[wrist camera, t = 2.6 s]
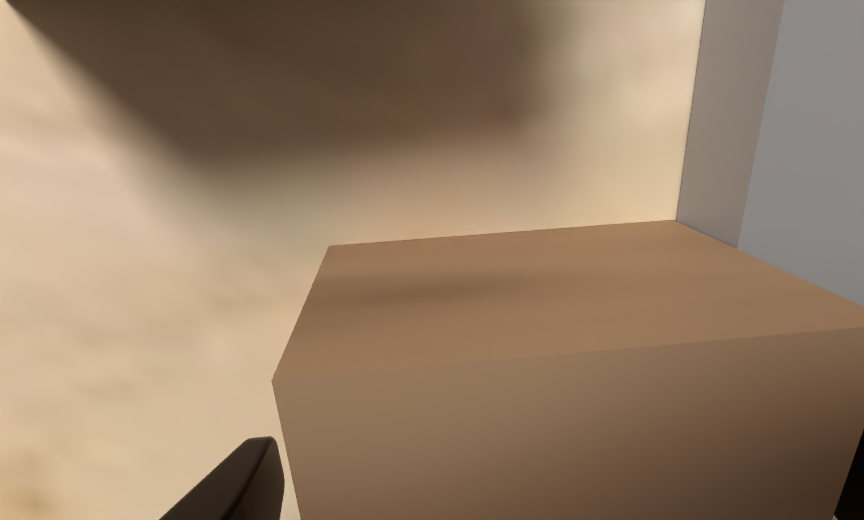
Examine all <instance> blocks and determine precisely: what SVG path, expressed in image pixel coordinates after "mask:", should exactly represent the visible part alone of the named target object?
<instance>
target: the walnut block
mask: <svg viewBox="0 0 864 520" xmlns="http://www.w3.org/2000/svg"><path fill="white" fill-rule="evenodd" d="M272 385H273V390H274V394H275V399H276V404H277V408H278V413H279V418H280V423H281V427H282V432H283V437H284V441H285V446H286V451H287V456H288V460H289V465H290V470H291V474H292V479H293V484H294V489H295V493H296V498H297V503H298V507H299V512H300V517H301V520H832V518H833V515H834V512H835V509H836V506H837V504H838V501H839V498H840V495H841V492H842V489H843V487H844V484H845V481H846V478H847V475H848V472H849V469H850V467H851V464H852V461H853V458H854V455H855V452H856V449H857V447H858V444H859V441H860V438H861V435H862V432H863V429H864V307H863V306H861V305H859V304H857V303H855V302H852V301H850V300H848V299H846V298H844V297H841V296H839V295H837V294H835V293H833V292H830V291H828V290H826V289H824V288H822V287H819V286H817V285H815V284H813V283H811V282H808V281H806V280H804V279H802V278H800V277H797V276H795V275H793V274H791V273H789V272H786V271H784V270H782V269H780V268H778V267H775V266H773V265H771V264H769V263H767V262H764V261H762V260H760V259H758V258H756V257H753V256H751V255H749V254H747V253H745V252H742V251H740V250H738V249H736V248H734V247H731V246H729V245H727V244H725V243H723V242H720V241H718V240H716V239H714V238H712V237H709V236H707V235H705V234H703V233H701V232H698V231H696V230H694V229H692V228H690V227H687V226H685V225H683V224H681V223H679V222H676V221H674V220H664V221H651V222H637V223H624V224H611V225H598V226H585V227H572V228H559V229H545V230H532V231H519V232H506V233H493V234H480V235H467V236H453V237H440V238H427V239H414V240H401V241H388V242H375V243H361V244H348V245H335V246H329V247H328V250H327V252H326V254H325V257H324V259H323V261H322V264H321V266H320V268H319V271H318V273H317V275H316V278H315V280H314V282H313V285H312V287H311V290H310V292H309V294H308V297H307V299H306V301H305V304H304V306H303V308H302V311H301V313H300V315H299V318H298V320H297V322H296V325H295V327H294V329H293V332H292V334H291V337H290V339H289V341H288V344H287V346H286V348H285V351H284V353H283V355H282V358H281V360H280V362H279V365H278V367H277V369H276V372H275V374H274V377H273V379H272Z"/></svg>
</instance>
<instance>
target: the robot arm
mask: <svg viewBox="0 0 864 520" xmlns="http://www.w3.org/2000/svg"><path fill="white" fill-rule="evenodd" d="M284 485H285V480H284V473H283V468H282V464H281V459H280V455H279V450H278V446H277V442H276V440H275V439H274V438H273V437H271V436H268V437H257V438H250V439H247V440H246V441H244V442H243V443H242V444H241V445H240V446H239V447H238V448H236V449H235V450H234V451H233V452H232V453H231V454H230V455H229V456H228V457H227V458H226V459H224V460H223V461H222V462H221V463H220V464H219V465H218V466H217V467H216V468H215V469H214V470H212V471H211V472H210V473H209V474H208V475H207V476H206V477H205V478H204V479H203V480H202V481H200V482H199V483H198V484H197V485H196V486H195V487H194V488H193V489H192V490H191V491H190V492H188V493H187V494H186V495H185V496H184V497H183V498H182V499H181V500H180V501H179V502H178V503H176V504H175V505H174V506H173V507H172V508H171V509H170V510H169V511H168V512H167V513H166V514H164V515H163V516H162V517H161V518H160V519H159V520H280V513H281V507H282V501H283V495H284ZM834 516H835V517H836V519H837V520H864V429H863V432H862V435H861V438H860V441H859V444H858V447H857V449H856V452H855V455H854V458H853V461H852V464H851V467H850V469H849V472H848V475H847V478H846V481H845V484H844V487H843V489H842V492H841V495H840V498H839V501H838V504H837V506H836V509H835V512H834Z"/></svg>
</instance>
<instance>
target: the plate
mask: <svg viewBox="0 0 864 520" xmlns="http://www.w3.org/2000/svg"><path fill="white" fill-rule="evenodd" d="M676 222H679V223H681V224H683V225H685V226H687V227H690V228H692V229H694V230H696V231H698V232H701V233H703V234H705V235H707V236H709V237H712V238H714V239H716V240H718V241H720V242H723V243H725V244H727V245H729V246H731V247H734V248H736V249H738V250H740V251H742V252H745V253H747V254H749V255H751V256H753V257H756V258H758V259H760V260H762V261H764V262H767V263H769V264H771V265H773V266H775V267H778V268H780V269H782V270H784V271H786V272H789V273H791V274H793V275H795V276H797V277H800V278H802V279H804V280H806V281H808V282H811V283H813V284H815V285H817V286H819V287H822V288H824V289H826V290H828V291H830V292H833V293H835V294H837V295H839V296H841V297H844V298H846V299H848V300H850V301H852V302H855V303H857V304H859V305H861V306H863V307H864V0H706V7H705V14H704V21H703V29H702V36H701V43H700V51H699V58H698V65H697V73H696V80H695V87H694V94H693V102H692V109H691V116H690V124H689V131H688V138H687V146H686V153H685V160H684V167H683V175H682V182H681V189H680V197H679V204H678V211H677V219H676Z"/></svg>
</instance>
